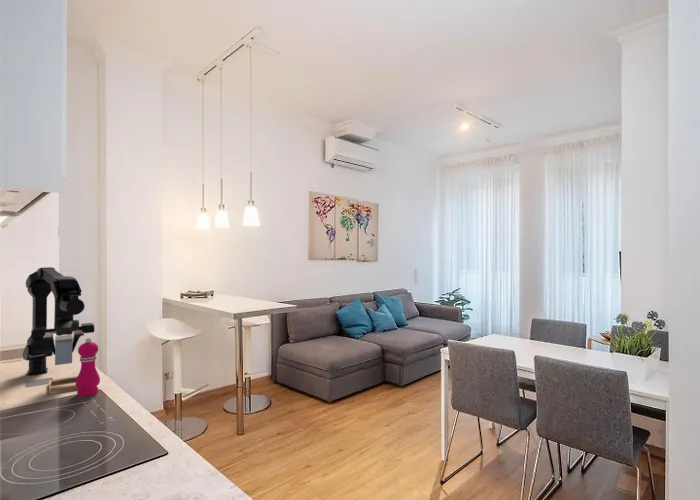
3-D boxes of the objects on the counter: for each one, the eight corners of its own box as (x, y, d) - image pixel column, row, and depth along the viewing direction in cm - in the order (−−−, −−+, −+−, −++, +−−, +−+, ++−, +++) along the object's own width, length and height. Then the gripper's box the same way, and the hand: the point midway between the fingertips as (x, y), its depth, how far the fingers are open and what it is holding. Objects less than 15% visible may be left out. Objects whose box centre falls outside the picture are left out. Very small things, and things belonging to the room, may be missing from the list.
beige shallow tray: (49, 385, 147) (49, 380, 147) (81, 380, 153) (81, 375, 153) (49, 395, 137) (49, 389, 137) (83, 389, 144) (83, 384, 143)
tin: (54, 360, 147) (55, 336, 147) (71, 358, 150) (71, 334, 150) (55, 365, 141) (55, 340, 141) (72, 363, 144) (72, 338, 144)
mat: (26, 382, 150) (26, 381, 150) (52, 378, 155) (52, 377, 155) (25, 388, 144) (25, 387, 144) (52, 384, 148) (52, 383, 148)
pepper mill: (104, 392, 141) (105, 337, 141) (83, 399, 135) (84, 341, 134) (91, 389, 144) (92, 334, 144) (70, 395, 138) (71, 338, 137)
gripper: (30, 317, 133) (30, 363, 134) (96, 312, 145) (95, 354, 145) (32, 312, 142) (31, 355, 142) (93, 308, 153) (92, 347, 154)
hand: (63, 353), depth 146 cm, fingers closed on tin, 5 cm apart
